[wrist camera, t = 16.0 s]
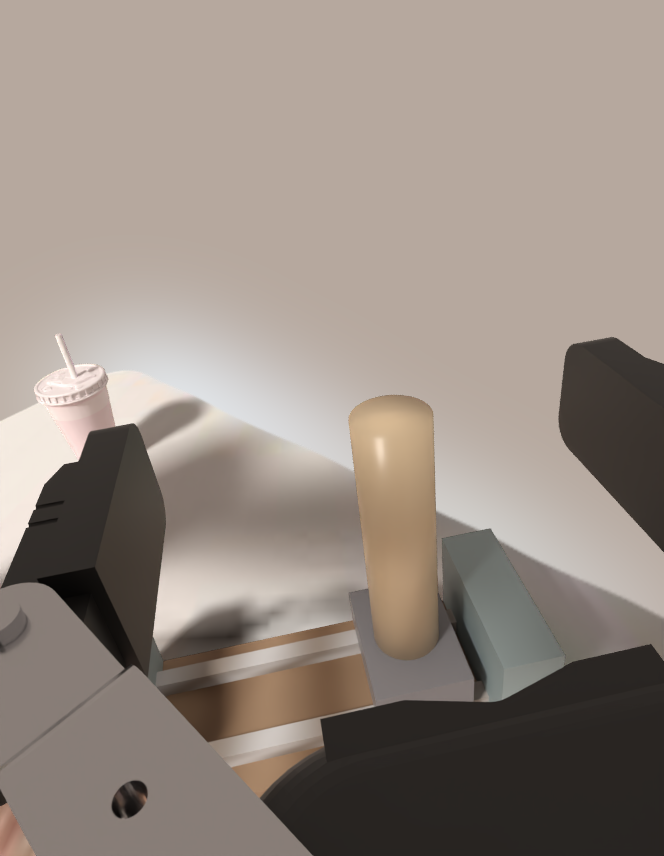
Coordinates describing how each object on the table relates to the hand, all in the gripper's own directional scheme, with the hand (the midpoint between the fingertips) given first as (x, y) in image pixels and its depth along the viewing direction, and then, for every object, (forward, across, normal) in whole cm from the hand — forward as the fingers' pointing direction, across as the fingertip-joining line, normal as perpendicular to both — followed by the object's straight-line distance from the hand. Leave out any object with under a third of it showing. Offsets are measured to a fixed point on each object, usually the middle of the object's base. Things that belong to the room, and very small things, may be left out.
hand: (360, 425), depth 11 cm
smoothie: (+42, +20, +26) cm, 53 cm away
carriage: (+11, -3, +23) cm, 26 cm away
